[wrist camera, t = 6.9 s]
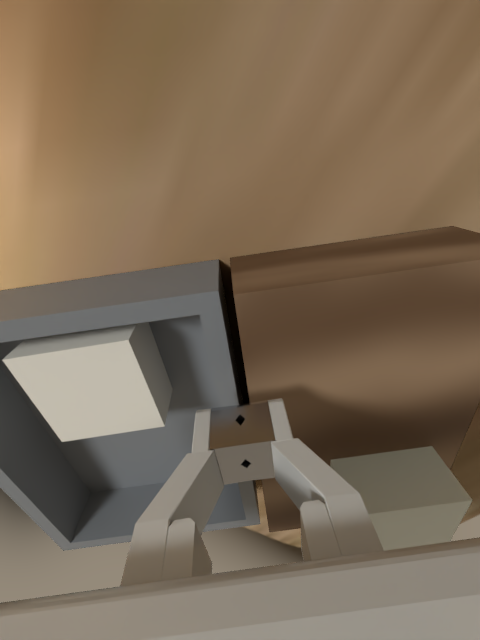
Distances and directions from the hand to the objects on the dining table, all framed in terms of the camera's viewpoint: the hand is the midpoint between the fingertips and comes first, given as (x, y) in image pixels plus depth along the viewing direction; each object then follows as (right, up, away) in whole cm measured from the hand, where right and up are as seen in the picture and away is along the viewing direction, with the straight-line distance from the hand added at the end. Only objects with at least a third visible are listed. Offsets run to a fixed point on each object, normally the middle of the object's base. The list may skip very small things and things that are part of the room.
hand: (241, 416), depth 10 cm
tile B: (+7, -5, +5) cm, 10 cm away
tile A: (-6, 0, +2) cm, 7 cm away
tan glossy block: (+5, 0, +7) cm, 8 cm away
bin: (-6, -2, +7) cm, 9 cm away
